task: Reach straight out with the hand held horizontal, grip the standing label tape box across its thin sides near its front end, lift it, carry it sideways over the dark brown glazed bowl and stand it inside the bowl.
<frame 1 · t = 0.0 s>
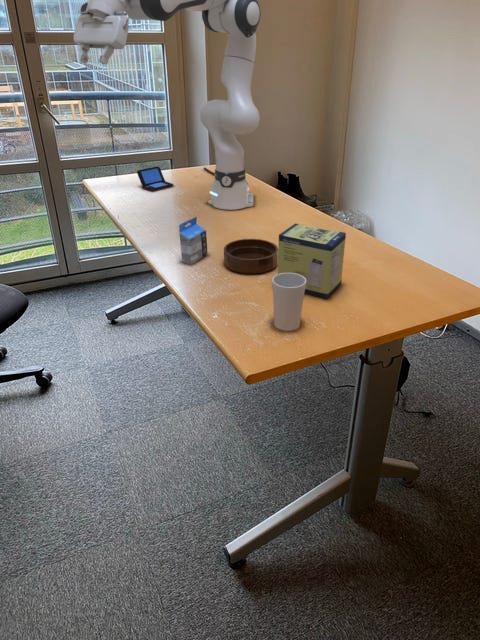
hand: (92, 62, 141), 54 cm above the table, tool tilted 30°, fingers open, 8 cm apart
protein box: (308, 286, 142), on the table
bowl: (250, 263, 155), on the table
cup: (286, 324, 124), on the table
label tape box: (194, 259, 158), on the table
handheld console: (156, 187, 227), on the table
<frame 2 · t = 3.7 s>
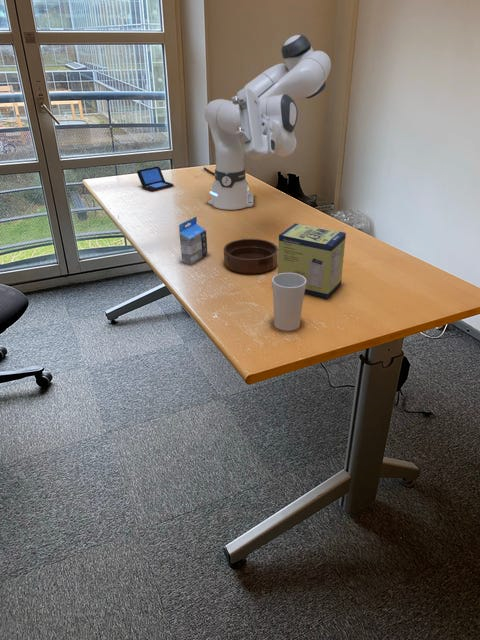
hand: (236, 114, 142), 42 cm above the table, tool pointing upward, fingers open, 8 cm apart
nothing on the table moved.
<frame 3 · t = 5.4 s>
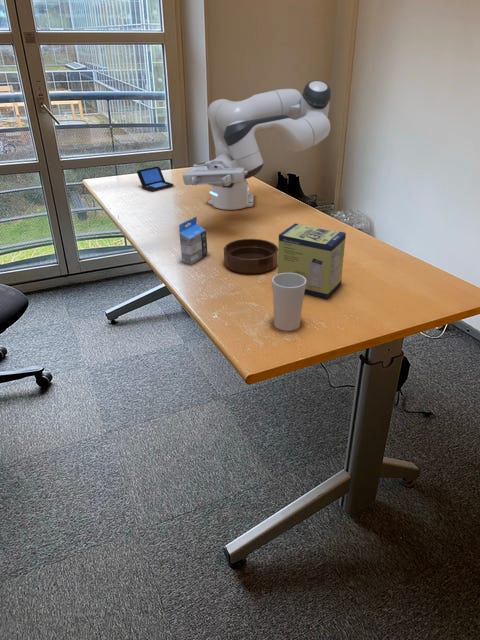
hand: (208, 182, 158), 21 cm above the table, tool horizontal, fingers open, 8 cm apart
nothing on the table moved.
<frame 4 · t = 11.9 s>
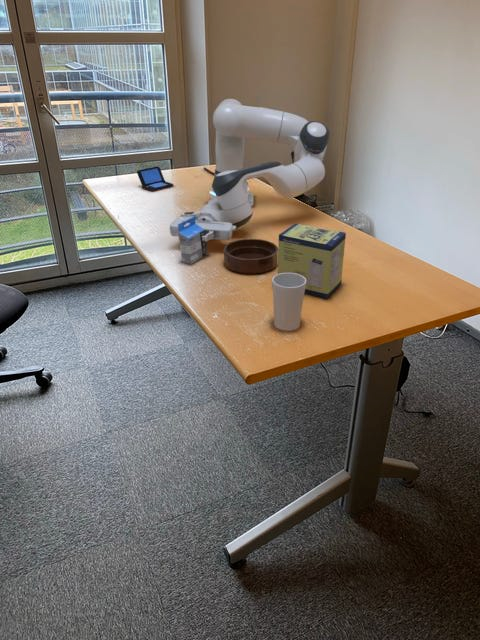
hand: (194, 238, 155), 7 cm above the table, tool horizontal, fingers closed on label tape box, 4 cm apart
label tape box: (194, 259, 158), on the table, touching gripper
everything else where it was.
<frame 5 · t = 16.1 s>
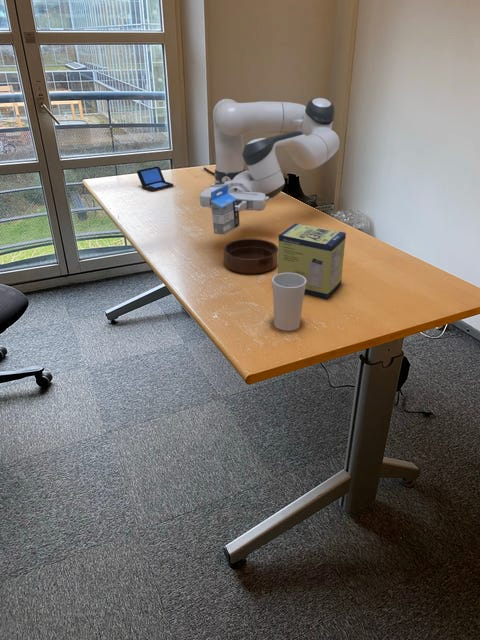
hand: (227, 208, 148), 17 cm above the table, tool horizontal, fingers closed on label tape box, 4 cm apart
label tape box: (226, 230, 151), point 10 cm above the table, touching gripper
everything else where it was.
when the fingers open (7 cm above the table, at t = 20.3 s): label tape box stays where it is, resting on bowl.
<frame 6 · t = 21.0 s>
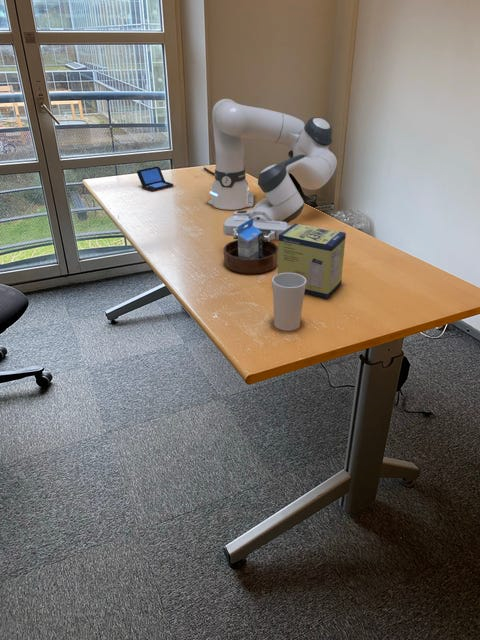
hand: (251, 238, 151), 8 cm above the table, tool horizontal, fingers open, 8 cm apart
label tape box: (250, 261, 155), point 1 cm above the table, touching bowl
everything else where it was.
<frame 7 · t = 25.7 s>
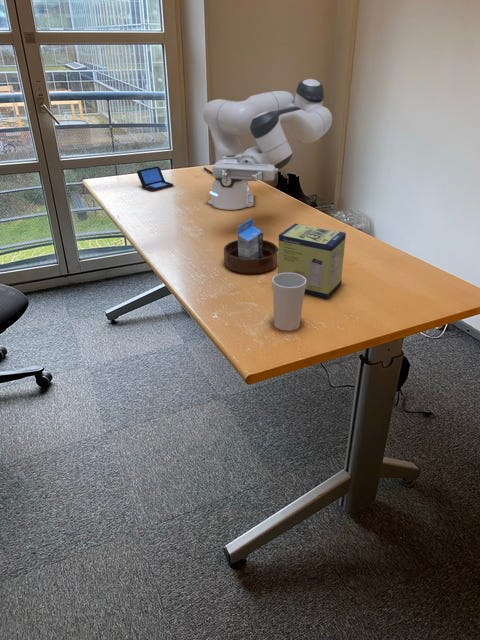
hand: (238, 177, 156), 22 cm above the table, tool horizontal, fingers open, 8 cm apart
nothing on the table moved.
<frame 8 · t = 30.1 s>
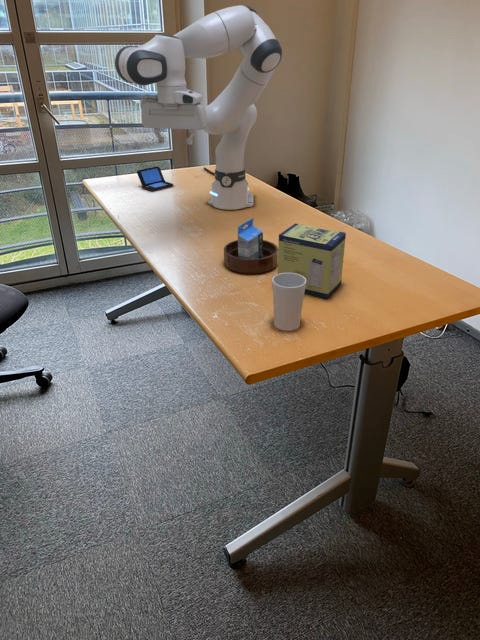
hand: (175, 143, 159), 31 cm above the table, tool pointing down, fingers open, 8 cm apart
nothing on the table moved.
at the end: label tape box inside the target area in the bowl (0.1 cm from its centre), point 0.6 cm above the bowl's base; the gripper is holding nothing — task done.
